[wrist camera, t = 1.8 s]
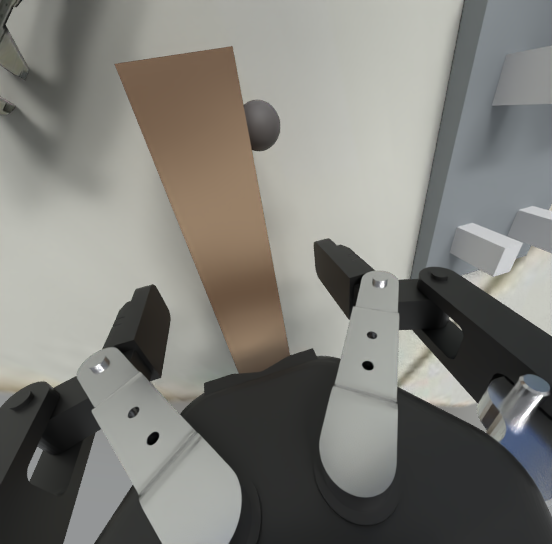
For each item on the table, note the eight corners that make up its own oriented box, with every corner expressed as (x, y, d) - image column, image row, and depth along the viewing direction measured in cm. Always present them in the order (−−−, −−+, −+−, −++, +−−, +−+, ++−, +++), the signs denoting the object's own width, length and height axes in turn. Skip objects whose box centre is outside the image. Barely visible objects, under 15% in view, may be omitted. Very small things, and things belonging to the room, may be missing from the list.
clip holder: (467, -12, 13) (599, -75, 9) (638, -37, 15) (827, -103, 10) (410, 279, 25) (456, 315, 20) (511, 248, 26) (575, 276, 22)
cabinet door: (159, 90, 13) (114, 63, 6) (243, 76, 13) (283, 38, 7) (235, 313, 22) (248, 398, 15) (282, 299, 22) (315, 376, 16)
